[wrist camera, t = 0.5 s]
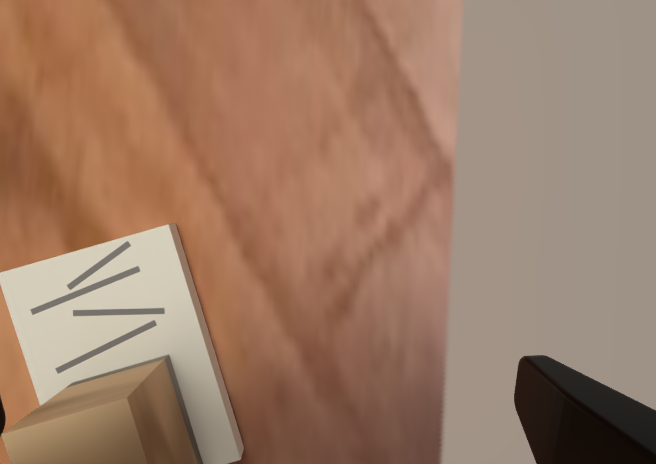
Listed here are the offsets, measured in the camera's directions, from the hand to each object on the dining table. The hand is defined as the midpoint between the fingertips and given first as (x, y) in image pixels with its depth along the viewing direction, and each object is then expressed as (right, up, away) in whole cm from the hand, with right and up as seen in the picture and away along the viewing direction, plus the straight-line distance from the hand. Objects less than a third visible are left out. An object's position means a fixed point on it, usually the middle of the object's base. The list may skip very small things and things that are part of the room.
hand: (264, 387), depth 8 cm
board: (-7, -3, +12) cm, 14 cm away
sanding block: (-7, -5, +11) cm, 14 cm away
